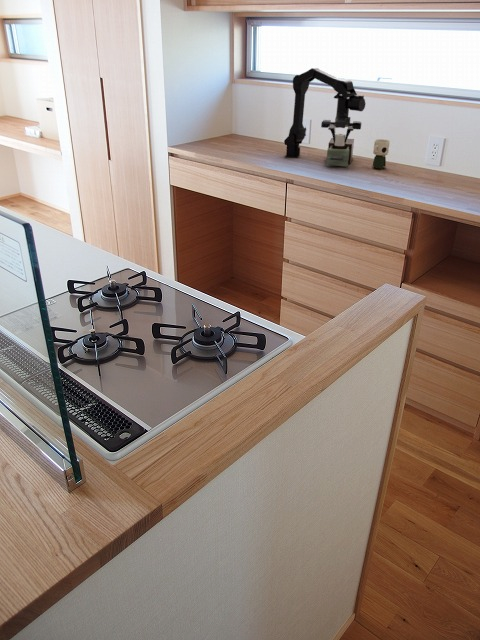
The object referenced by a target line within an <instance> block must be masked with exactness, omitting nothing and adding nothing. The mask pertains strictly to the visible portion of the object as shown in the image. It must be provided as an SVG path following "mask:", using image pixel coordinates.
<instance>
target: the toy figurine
mask: <svg viewBox="0 0 480 640" xmlns="http://www.w3.org/2000/svg"><path fill="white" fill-rule="evenodd" d="M390 143H391V141H390V140H389V139H388V140H387V139H384V138H383V139H375V140H374V143H373V152H372V153H373V155H375V156H374V158H373V162H372V168H375V169H380V170H381V169H385V168H386V167H387V166H386V165H387V159H386V158H387V157H386V156H387V155H389V149H390Z"/></svg>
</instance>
